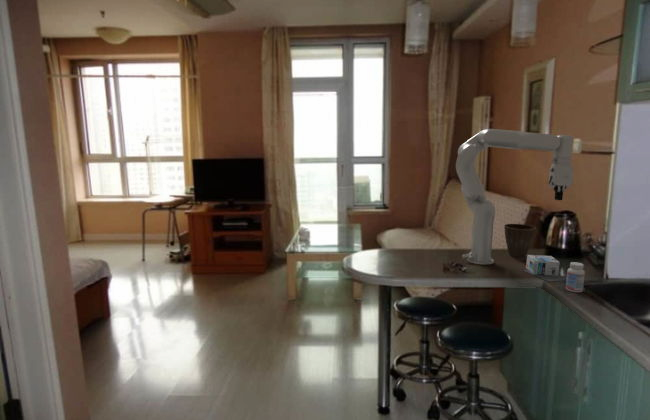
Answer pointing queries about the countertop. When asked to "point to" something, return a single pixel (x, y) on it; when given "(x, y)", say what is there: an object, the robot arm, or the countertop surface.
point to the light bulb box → (542, 265)
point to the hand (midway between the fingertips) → (558, 199)
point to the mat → (548, 277)
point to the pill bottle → (575, 277)
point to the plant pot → (518, 239)
